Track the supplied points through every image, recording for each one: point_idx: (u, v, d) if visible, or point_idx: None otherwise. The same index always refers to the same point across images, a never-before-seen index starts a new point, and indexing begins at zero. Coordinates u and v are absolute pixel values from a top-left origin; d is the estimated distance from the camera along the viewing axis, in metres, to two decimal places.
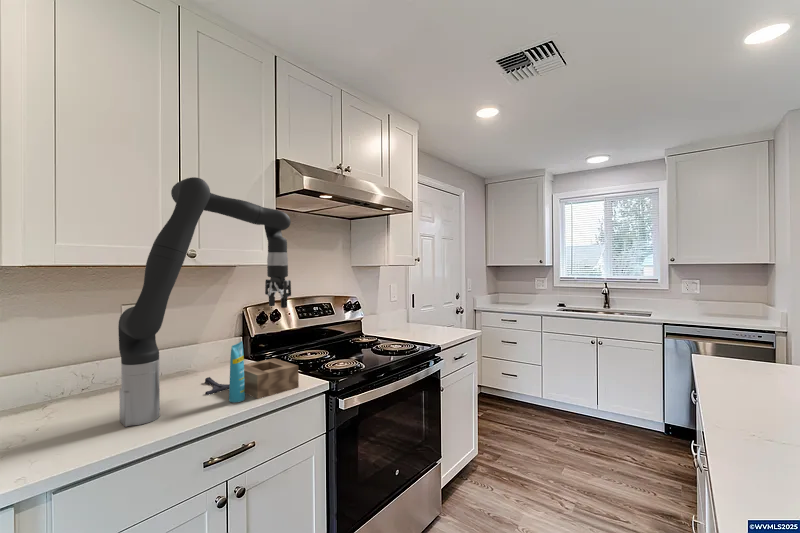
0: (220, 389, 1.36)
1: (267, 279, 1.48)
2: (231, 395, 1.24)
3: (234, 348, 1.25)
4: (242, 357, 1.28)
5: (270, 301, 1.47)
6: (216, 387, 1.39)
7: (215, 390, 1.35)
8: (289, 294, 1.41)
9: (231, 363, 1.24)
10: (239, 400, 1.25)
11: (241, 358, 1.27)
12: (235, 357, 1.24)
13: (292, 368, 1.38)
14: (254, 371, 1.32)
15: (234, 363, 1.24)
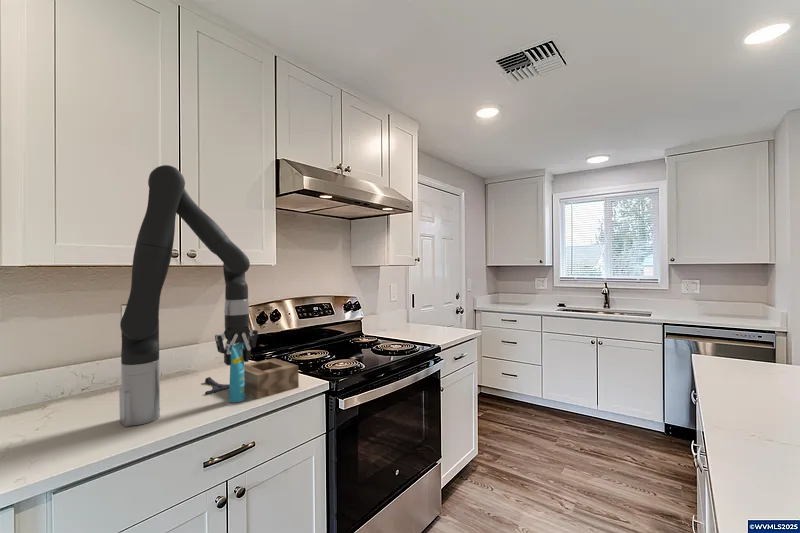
0: (220, 389, 1.36)
1: (219, 335, 1.22)
2: (231, 395, 1.24)
3: (234, 348, 1.25)
4: (242, 356, 1.28)
5: None
6: (216, 387, 1.39)
7: (215, 390, 1.35)
8: None
9: (231, 363, 1.24)
10: (239, 400, 1.25)
11: (241, 358, 1.27)
12: (235, 357, 1.24)
13: (292, 368, 1.38)
14: (254, 371, 1.32)
15: (234, 363, 1.24)
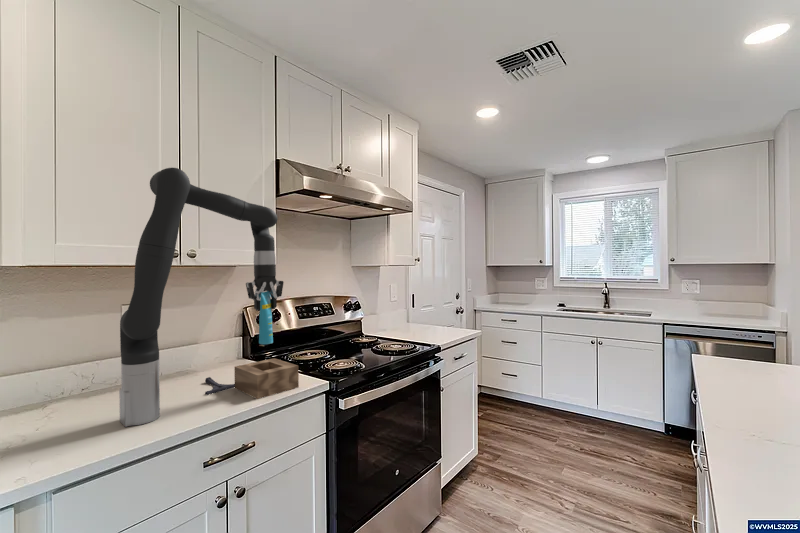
0: (220, 389, 1.36)
1: (249, 282, 1.34)
2: (261, 338, 1.37)
3: (263, 295, 1.37)
4: (270, 304, 1.40)
5: None
6: (216, 387, 1.39)
7: (215, 390, 1.35)
8: None
9: (261, 308, 1.36)
10: (268, 342, 1.37)
11: (269, 305, 1.39)
12: (264, 303, 1.36)
13: (292, 368, 1.38)
14: (254, 371, 1.32)
15: (263, 308, 1.36)
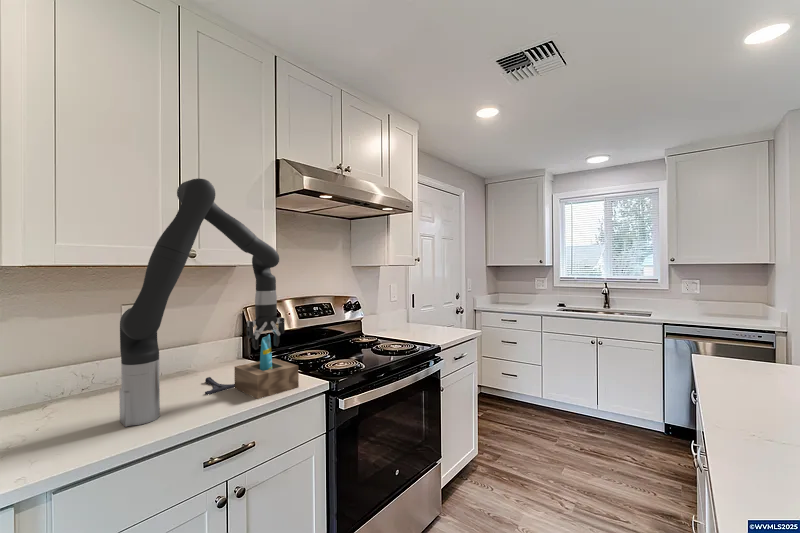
0: (220, 389, 1.36)
1: (251, 321, 1.34)
2: None
3: (264, 340, 1.37)
4: (270, 348, 1.41)
5: None
6: (216, 387, 1.39)
7: (215, 390, 1.35)
8: None
9: (261, 354, 1.36)
10: None
11: (269, 350, 1.40)
12: (265, 349, 1.37)
13: (292, 368, 1.38)
14: (254, 371, 1.32)
15: (264, 353, 1.36)
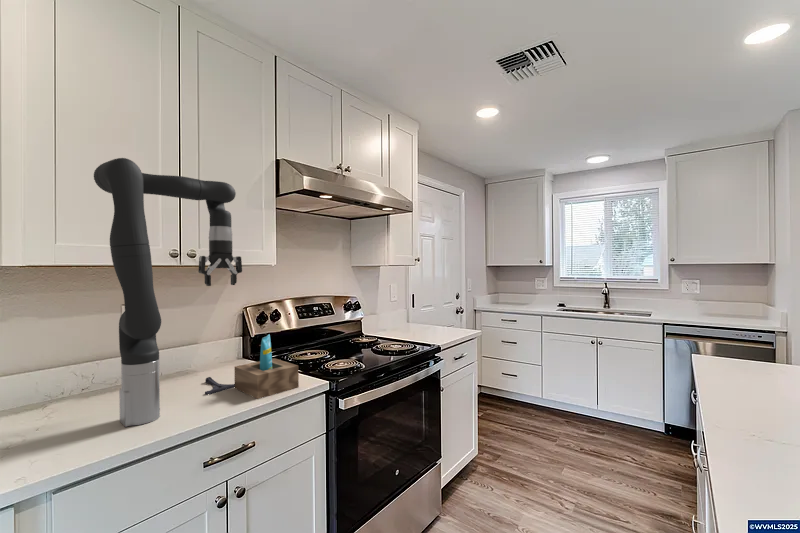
0: (220, 389, 1.36)
1: None
2: None
3: (264, 340, 1.37)
4: (270, 348, 1.41)
5: None
6: (216, 387, 1.39)
7: (215, 390, 1.35)
8: None
9: (261, 354, 1.36)
10: None
11: (269, 350, 1.40)
12: (265, 349, 1.37)
13: (292, 368, 1.38)
14: (254, 371, 1.32)
15: (264, 354, 1.36)
